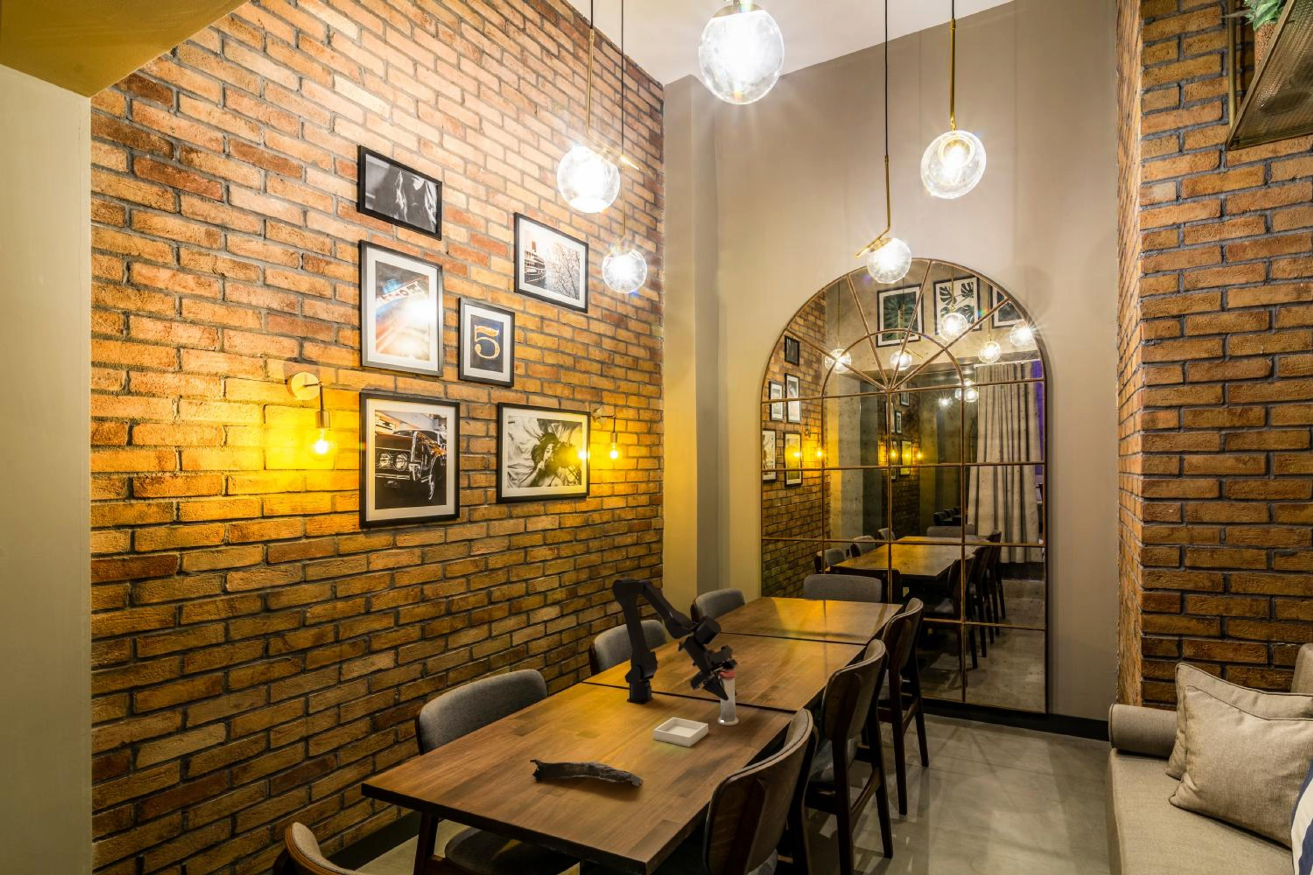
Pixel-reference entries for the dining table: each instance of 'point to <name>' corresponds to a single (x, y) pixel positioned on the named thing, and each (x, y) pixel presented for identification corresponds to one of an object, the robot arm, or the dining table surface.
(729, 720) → the stop pin
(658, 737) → the tray
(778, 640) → the dining table surface
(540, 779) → the tree bark piece
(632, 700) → the robot arm
